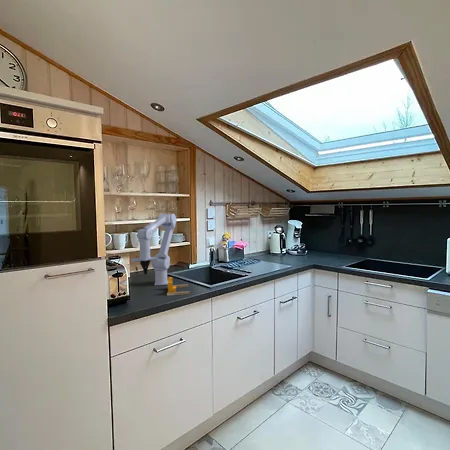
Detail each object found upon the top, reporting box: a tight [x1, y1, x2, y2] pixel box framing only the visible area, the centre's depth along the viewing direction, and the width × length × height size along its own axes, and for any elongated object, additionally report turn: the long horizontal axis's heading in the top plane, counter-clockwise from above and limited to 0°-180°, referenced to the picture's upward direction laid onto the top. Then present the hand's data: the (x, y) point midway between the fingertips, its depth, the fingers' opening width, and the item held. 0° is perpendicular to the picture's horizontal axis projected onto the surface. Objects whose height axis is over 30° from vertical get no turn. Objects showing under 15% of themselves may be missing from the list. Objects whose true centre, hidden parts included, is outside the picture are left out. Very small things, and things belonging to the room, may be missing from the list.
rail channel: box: [166, 283, 190, 296], centre depth 171 cm, size 16×12×1 cm
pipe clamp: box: [167, 276, 177, 293], centre depth 171 cm, size 12×4×6 cm, turn 10°
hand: (145, 274), depth 172 cm, fingers closed
